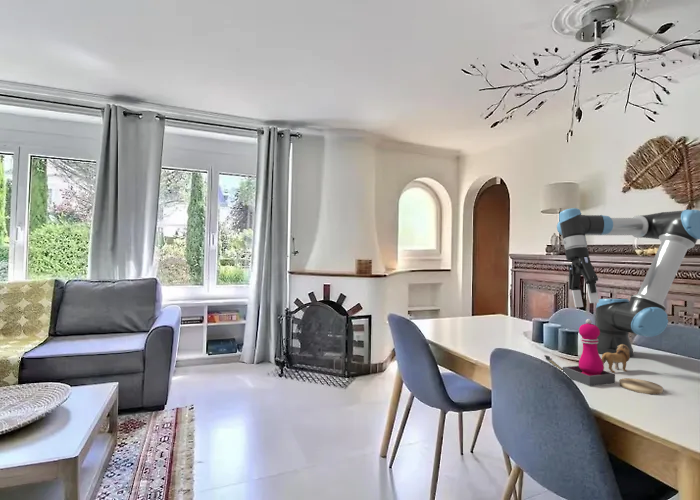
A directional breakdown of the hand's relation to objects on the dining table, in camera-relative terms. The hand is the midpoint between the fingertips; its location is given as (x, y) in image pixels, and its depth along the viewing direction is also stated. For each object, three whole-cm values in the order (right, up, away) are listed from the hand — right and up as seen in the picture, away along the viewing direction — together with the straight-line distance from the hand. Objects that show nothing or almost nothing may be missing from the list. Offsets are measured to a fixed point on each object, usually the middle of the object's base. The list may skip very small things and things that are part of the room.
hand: (586, 305), depth 143 cm
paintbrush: (-8, -24, +5) cm, 26 cm away
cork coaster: (+6, -24, -19) cm, 31 cm away
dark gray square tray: (-7, -23, -12) cm, 27 cm away
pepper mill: (-6, -23, -12) cm, 27 cm away
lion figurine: (+10, -24, 0) cm, 26 cm away
